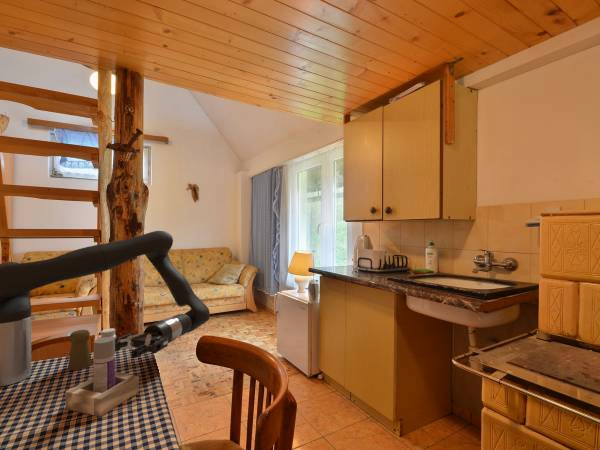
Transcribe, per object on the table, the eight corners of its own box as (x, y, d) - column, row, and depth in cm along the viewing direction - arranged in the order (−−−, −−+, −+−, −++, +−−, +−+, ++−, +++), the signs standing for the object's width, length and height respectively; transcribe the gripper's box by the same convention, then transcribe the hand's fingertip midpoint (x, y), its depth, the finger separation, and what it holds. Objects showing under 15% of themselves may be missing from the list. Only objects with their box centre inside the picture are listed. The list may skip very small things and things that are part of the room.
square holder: (65, 408, 73) (65, 391, 73) (106, 385, 83) (106, 370, 83) (100, 416, 70) (100, 399, 70) (138, 391, 80) (138, 376, 80)
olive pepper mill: (78, 371, 91) (79, 334, 92) (62, 369, 93) (62, 333, 93) (96, 362, 97) (96, 328, 97) (80, 361, 99) (80, 327, 99)
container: (110, 392, 80) (110, 335, 80) (118, 398, 77) (118, 339, 77) (89, 400, 76) (90, 340, 76) (97, 407, 73) (98, 344, 74)
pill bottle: (97, 355, 103) (97, 330, 103) (113, 350, 107) (113, 327, 107) (101, 359, 100) (101, 333, 100) (117, 354, 103) (117, 330, 104)
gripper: (145, 318, 99) (99, 335, 83) (182, 322, 94) (141, 341, 79) (145, 341, 99) (99, 363, 83) (182, 346, 94) (141, 370, 79)
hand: (119, 352), depth 81 cm, fingers open, 8 cm apart
